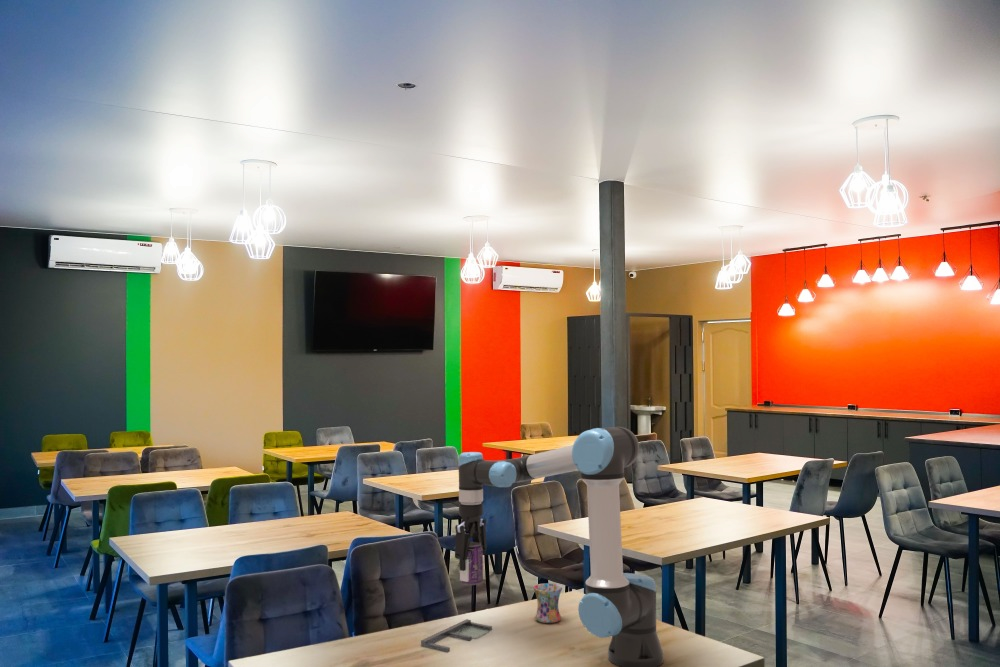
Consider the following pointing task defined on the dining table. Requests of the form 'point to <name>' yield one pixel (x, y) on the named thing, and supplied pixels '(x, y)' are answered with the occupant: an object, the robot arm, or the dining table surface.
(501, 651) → the dining table surface
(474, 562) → the beverage can
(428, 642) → the grey flat frame
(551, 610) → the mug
